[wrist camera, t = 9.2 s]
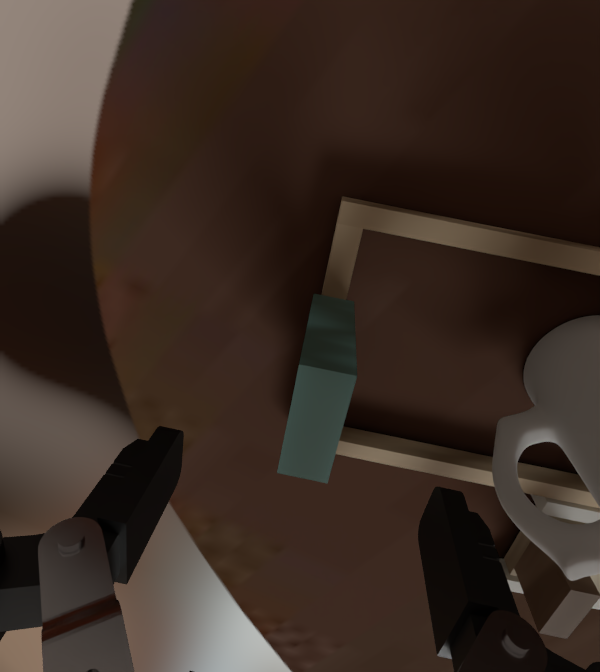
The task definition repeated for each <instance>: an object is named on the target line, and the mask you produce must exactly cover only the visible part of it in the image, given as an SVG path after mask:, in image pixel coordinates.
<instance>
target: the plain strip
mask: <svg viewBox="0 0 600 672" xmlns="http://www.w3.org/2000/svg"><path fill="white" fill-rule="evenodd" d="M535 506H536V505H535ZM536 507H537V506H536ZM548 516H549V515H548ZM550 517H552V518H554V519H556V520H559V521H561V522H565V523H569V524H588V523H583V522H578V521H573V520H568V519H564V518H559V517H554V516H550ZM504 560H505V563H506V566H507V568H508V571H509V574H510V575H513V576H517V577H518V580H519V582H520V585H521V587H522V590H523V593H524V595H525V598H526V601H527V603H528V606H529V608H530V611H531V614H532V616H533V619H534V621H535V624H536V627H537V629H538V632H539V633H541V634H546V635H551V636H556V637H560V638H565V639H567V638H568V637H569V635H570V634H571V633H572V632H573V630H574V629H575V628H576V627H577V625H578V624H579V623H580V622H581V620H582V619H583V618H584V617H585V616H586V614H587V613H588V612H589V611H590V609H591V608H592V607H593V606H594V604H595V603H596V602H597V601H598V599H599V598H600V574H597V575H592V576H587V577H583V578H580V579H578V580H574V581H571V580H569V579H568V578H567V577H566V576H565V574H564V573H563V571H562V570H561V568H560V567H559V566H558V565H557V564H556V563H555V562H554V561H553V560H552V559H551V558H550V557H549V556H548V555H547V554H546V553H544V552H543V551H542V550H541V549H540V548H539V547H537V546H536V545H535V544H534V543H533V542H532V541H531V540H530V539H529V538H528V537H527V536H526V535H525V534H524V533H523V532H522V531H521V530H520V532H519V534H518V535H517V537H516V539H515V541H514V542H513V544H512V546H511V547H510V549H509V551H508V552H507V554H506V556H505V557H504Z"/></svg>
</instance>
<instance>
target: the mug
mask: <svg viewBox="0 0 600 672" xmlns="http://www.w3.org/2000/svg"><path fill="white" fill-rule="evenodd" d="M523 379H524V385H525V389H526V391H527V393H528V395H529V397H530V399H531V400H532V402H533V403H534V405H535V406H534V407H533V408H531V409H529V410H527V411H525V412H522V413H519V414H515V415H510V416H506V417H503V418H501V419H500V420H499V421H498V423H497V429H496V436H495V444H494V452H493V460H492V475H493V482H494V486H495V490H496V493H497V496H498V499H499V501H500V503H501V505H502V507H503V509H504V510H505V512H506V513H507V515H508V516H509V517H510V519H511V520H512V521H513V523H514V524H515V525H516V526H517V527H518V528H519V529H520V530H521V531H522V532H523V533H524V534H525V535H526V536H527V537H528V538H529V539H530V540H531V541H532V542H533V543H534V544H535V545H536V546H537V547H539V548H540V549H541V550H542V551H543V552H544V553H546V554H547V555H548V556H549V557H550V558H551V559H552V560H553V561H554V562H555V563H556V564H557V565H558V566H559V567H560V568H561V570H562V571H563V573H564V574H565V576H566V577H567V578H568V579H569V580H571V581H574V580H578V579H580V578H583V577H587V576H592V575H597V574H600V519H599V520H597V521H595V522H592V523H588V524H569V523H565V522H561V521H559V520H556V519H554V518H552V517H550V516H548V515H547V514H545V513H543V512H542V511H541V510H539V509H538V508H537V507H536V506H535V505H534V504H532V503H531V501H530V500H529V499H528V498H527V497H526V495H525V494H524V492H523V490H522V488H521V486H520V483H519V479H518V473H517V463H518V460H519V457H520V455H521V454H522V452H523V451H524V450H525V449H526V448H527V447H528V446H530V445H533V444H537V443H541V442H553V443H556V444H557V445H559V446H560V447H561V448H562V450H563V451H564V452H565V454H566V455H567V457H568V458H569V460H570V462H571V463H572V465H573V466H574V468H575V469H576V471H577V473H578V474H579V476H580V477H581V479H582V480H583V482H584V484H585V485H586V487H587V488H588V490H589V491H590V493H591V495H592V496H593V498H594V499H595V501H596V502H597V504H598V506H599V507H600V315H593V316H586V317H581V318H577V319H574V320H571V321H568V322H566V323H564V324H562V325H560V326H558V327H556V328H555V329H553V330H552V331H550V332H549V333H547V334H546V335H545V336H544V337H543V338H542V339H541V340H540V341H539V342H538V343H537V344H536V345H535V346H534V348H533V349H532V351H531V352H530V354H529V356H528V358H527V360H526V363H525V367H524V373H523Z"/></svg>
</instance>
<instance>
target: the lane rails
mask: <svg viewBox="0 0 600 672" xmlns="http://www.w3.org/2000/svg"><path fill="white" fill-rule="evenodd" d="M531 496H532V498H533V500H534V502H535V504H536V506H537V508H538V509H539V510H541V511H542V512H543V513H545V514H547V515H549V516H554V517H559V518H564V519H568V520H573V521H578V522H583V523H592V522H595V521H597V520H599V519H600V508H595V507H591V506H586V505H581V504H576V503H571V502H566V501H561V500H557V499H552V498H547V497H542V496H537V495H532V494H531ZM499 561H500V562H501V564H502V567H503V570H504V573H505V575H506V578H507V581H508V584H509V587H510V590H511V591H513V592H518V593H523V590H522V587H521V585H520V582H519V580H518V577H517V576H513V575H510V574H509V571H508V568H507V566H506V563H505V560H504V559H502V558H500V560H499ZM523 594H524V593H523ZM592 608H594V609H599V610H600V598H599V599H598V601H597V602H596V603H595V604H594V606H593V607H592Z"/></svg>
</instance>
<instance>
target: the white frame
mask: <svg viewBox="0 0 600 672" xmlns="http://www.w3.org/2000/svg"><path fill="white" fill-rule="evenodd" d="M363 229H368V230H373V231H378V232H383V233H388V234H393V235H398V236H403V237H408V238H413V239H418V240H423V241H428V242H433V243H438V244H443V245H448V246H453V247H458V248H463V249H468V250H473V251H478V252H483V253H488V254H493V255H498V256H504V257H509V258H514V259H519V260H524V261H529V262H534V263H539V264H544V265H549V266H554V267H559V268H564V269H569V270H574V271H579V272H584V273H589V274H594V275H599V276H600V247H595V246H590V245H585V244H580V243H575V242H570V241H565V240H560V239H555V238H550V237H545V236H540V235H535V234H530V233H525V232H520V231H515V230H510V229H505V228H500V227H494V226H489V225H484V224H479V223H474V222H469V221H464V220H459V219H454V218H449V217H444V216H439V215H434V214H429V213H424V212H419V211H414V210H409V209H404V208H399V207H394V206H389V205H383V204H378V203H373V202H368V201H363V200H358V199H353V198H348V197H343V196H342V199H341V204H340V209H339V213H338V218H337V223H336V228H335V232H334V237H333V242H332V247H331V251H330V256H329V261H328V265H327V270H326V275H325V280H324V284H323V289H322V294H321V295H319V294H314V295H313V299H312V304H311V309H310V314H309V319H308V324H307V328H306V333H305V338H304V343H303V348H302V353H301V357H300V362H299V367H298V372H297V377H296V382H295V387H294V392H293V397H292V402H291V407H290V412H289V417H288V422H287V427H286V431H285V436H284V441H283V446H282V451H281V456H280V461H279V466H278V471H277V473H280V474H285V475H290V476H295V477H299V478H304V479H309V480H314V481H319V482H324V483H328V479H329V475H330V472H331V468H332V465H333V461H334V457H335V454H339V455H344V456H348V457H353V458H358V459H363V460H368V461H373V462H377V463H382V464H387V465H392V466H397V467H402V468H406V469H411V470H416V471H421V472H426V473H431V474H436V475H440V476H445V477H450V478H455V479H460V480H465V481H469V482H474V483H479V484H484V485H489V486H494V482H493V475H492V460H493V457H490V456H485V455H480V454H475V453H471V452H466V451H461V450H456V449H451V448H446V447H441V446H437V445H432V444H427V443H422V442H417V441H412V440H407V439H403V438H398V437H393V436H388V435H383V434H378V433H373V432H368V431H364V430H359V429H354V428H349V427H344V426H343V425H344V421H345V418H346V414H347V411H348V407H349V403H350V400H351V396H352V393H353V389H354V385H355V382H356V378H357V362H356V337H355V313H354V301H349V300H346V298H347V294H348V289H349V285H350V281H351V277H352V273H353V269H354V264H355V260H356V256H357V252H358V248H359V244H360V240H361V235H362V231H363ZM517 473H518V479H519V483H520V486H521V488H522V490H523V492H524V493H528V494H532V495H537V496H542V497H547V498H552V499H557V500H561V501H566V502H571V503H576V504H581V505H586V506H591V507H595V508H600V507H599V506H598V504H597V502H596V501H595V499H594V498H593V496H592V495H591V493H590V491H589V490H588V488H587V487H586V485H585V484H584V482H583V480H582V479H581V477H580V476H579V475H578V474H573V473H568V472H563V471H558V470H553V469H548V468H544V467H539V466H534V465H529V464H524V463H519V462H518V463H517ZM494 487H495V486H494Z"/></svg>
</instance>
